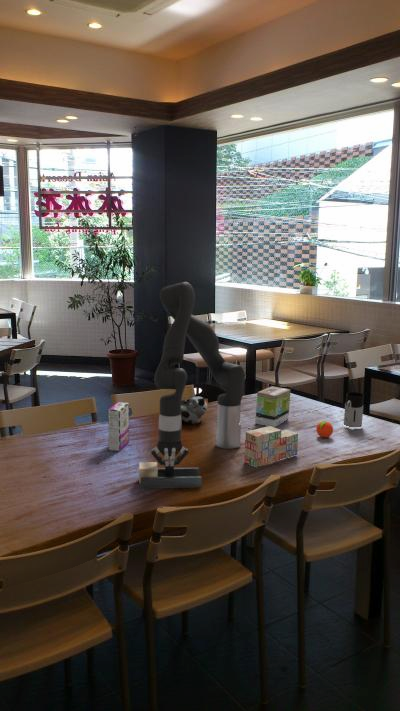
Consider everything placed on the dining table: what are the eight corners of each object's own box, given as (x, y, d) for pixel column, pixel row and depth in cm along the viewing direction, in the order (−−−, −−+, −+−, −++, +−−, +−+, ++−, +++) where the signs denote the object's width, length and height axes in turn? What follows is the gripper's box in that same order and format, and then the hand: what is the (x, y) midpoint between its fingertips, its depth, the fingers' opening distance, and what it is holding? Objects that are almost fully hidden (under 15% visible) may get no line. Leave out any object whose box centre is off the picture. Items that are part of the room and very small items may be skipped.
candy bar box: (117, 441, 243) (117, 401, 240) (129, 442, 242) (129, 402, 239) (107, 450, 232) (107, 409, 229) (120, 451, 231) (120, 410, 228)
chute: (198, 477, 210) (198, 467, 209) (201, 487, 201) (201, 477, 200) (140, 478, 207) (140, 468, 207) (140, 488, 199) (140, 478, 198)
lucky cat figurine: (181, 414, 281) (196, 388, 280) (201, 428, 276) (216, 402, 275) (167, 413, 267) (183, 386, 266) (188, 428, 263) (205, 400, 261)
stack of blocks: (285, 451, 237) (287, 421, 234) (297, 456, 232) (299, 426, 230) (243, 462, 224) (245, 430, 222) (255, 468, 219) (256, 435, 217)
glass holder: (365, 426, 272) (368, 393, 269) (354, 434, 260) (357, 400, 257) (346, 422, 276) (348, 390, 273) (335, 430, 264) (337, 397, 261)
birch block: (156, 475, 206) (156, 462, 205) (157, 483, 201) (157, 468, 200) (139, 476, 206) (139, 462, 205) (139, 483, 200) (139, 469, 199)
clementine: (326, 442, 249) (328, 425, 248) (311, 438, 253) (312, 421, 252) (335, 437, 256) (336, 421, 254) (320, 433, 260) (321, 417, 258)
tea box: (275, 428, 265) (276, 395, 262) (254, 424, 270) (256, 391, 267) (289, 420, 278) (291, 388, 275) (269, 416, 283) (270, 385, 280)
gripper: (189, 423, 205) (187, 471, 208) (149, 423, 204) (149, 471, 207) (190, 430, 198) (189, 480, 201) (150, 430, 196) (149, 480, 200)
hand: (169, 475), depth 204 cm, fingers closed
